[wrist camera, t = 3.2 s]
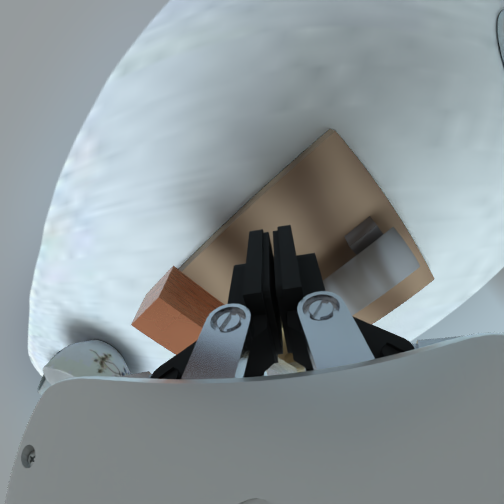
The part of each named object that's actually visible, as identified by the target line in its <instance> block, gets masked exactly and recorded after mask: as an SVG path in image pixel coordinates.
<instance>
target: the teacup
mask: <svg viewBox="0 0 504 504" xmlns="http://www.w3.org/2000/svg"><path fill="white" fill-rule="evenodd" d="M43 373H44V376H45V378H46V379H47V381H48V382H49V383H50V384H51V385H53V384H55V383H57V382H59V381H62V380H66V379H69V378H74V377H82V376H111V377H117V376H124V375H130V374H131V373H130V371H129V369H128V367H127V365H126V363H125V361H124V359H123V357H122V355H121V354H120V353H119V352H118V351H117V350H116V349H115V348H114V347H112V346H111V345H109V344H107V343H105V342H103V341H100V340H90V341H84V342H78V343H75V344H72V345H69V346H67V347H65V348H64V349H62V350H61V351H59V352H58V353H57V354H56V355H55V356H54V357H53V358H52V359H51V360H50V361H49V363H48V364H47V365H45V366H44V368H43Z"/></svg>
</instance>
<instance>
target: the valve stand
mask: <svg viewBox="0 0 504 504" xmlns="http://www.w3.org/2000/svg"><path fill="white" fill-rule="evenodd" d="M286 225H291V230H292V235H293V240H294V245H295V251H296V256H297V255H303V254H310V253H315V255H316V258H317V262H318V265H319V269H320V272H321V276H322V280H323V283H324V287H325V291H328V292H332V293H335V294H337V295H338V296H340V297H341V298H342V299H343V301H344V302H345V304H346V306H347V308H348V309H349V311H350V313H351V315H352V316H353V317H355V318H358V319H360V320H362V321H365V322H367V323H369V324H373V323H375V322H376V321H378V320H379V319H381V318H382V317H384V316H385V315H387V314H388V313H390V312H391V311H393V310H394V309H395V308H397V307H398V306H400V305H401V304H403V303H404V302H405V301H407V300H408V299H409V298H411V297H412V296H413V295H415V294H416V293H417V292H419V291H420V290H421V289H423V288H424V287H425V286H427V285H428V284H429V283H430V282H432V281H433V280H434V277H433V275H432V273H431V271H430V269H429V267H428V265H427V264H426V262H425V260H424V258H423V256H422V254H421V253H420V251H419V249H418V247H417V245H416V244H415V242H414V240H413V239H412V237H411V235H410V234H409V232H408V230H407V229H406V227H405V225H404V224H403V222H402V220H401V219H400V217H399V216H398V214H397V213H396V211H395V210H394V208H393V206H392V205H391V203H390V202H389V200H388V199H387V198H386V196H385V195H384V193H383V192H382V190H381V189H380V187H379V186H378V185H377V183H376V182H375V180H374V179H373V178H372V176H371V175H370V174H369V172H368V171H367V170H366V168H365V167H364V166H363V164H362V163H361V162H360V160H359V159H358V158H357V156H356V155H355V154H354V153H353V151H352V150H351V149H350V148H349V146H348V145H347V144H346V143H345V142H344V140H343V139H342V138H341V137H340V136H339V134H338V133H337V132H336V131H334V130H332V129H329V130H328V131H327V132H326V133H325V134H323V135H322V136H321V137H320V138H319V139H318V140H316V141H315V142H314V143H313V144H312V145H311V146H309V147H308V148H307V149H306V150H305V151H304V152H303V153H301V154H300V155H299V156H298V157H297V158H296V159H295V160H293V161H292V162H291V163H290V164H289V165H288V166H287V167H286V168H284V169H283V170H282V171H281V172H280V173H279V174H278V175H277V176H276V177H274V178H273V179H272V180H271V181H270V182H269V183H268V184H267V185H266V186H265V187H263V188H262V189H261V190H260V191H259V192H258V193H257V194H256V195H255V196H254V197H253V198H252V199H250V200H249V201H248V202H247V203H246V204H245V205H244V206H243V207H242V208H241V209H240V210H239V211H238V212H237V213H235V214H234V215H233V216H232V217H231V218H230V219H229V220H228V221H227V222H226V223H225V224H224V225H223V226H222V227H221V228H220V229H219V230H218V231H217V232H216V233H214V234H213V235H212V236H211V237H210V238H209V239H208V240H207V241H206V242H205V243H204V244H203V245H202V246H201V247H200V248H199V249H198V250H197V251H196V252H195V253H194V254H193V255H192V256H191V257H190V258H189V259H188V260H187V261H186V262H185V263H184V264H183V265H182V266H181V267H180V268H179V269H178V270H180V271H181V272H182V273H183V274H185V275H186V276H187V277H189V278H190V279H191V280H192V281H194V282H195V283H196V284H198V285H199V286H200V287H202V288H203V289H204V290H206V291H207V292H208V293H210V294H211V295H212V296H214V297H215V298H216V299H218V300H219V301H220V302H222V303H223V304H224V305H226V304H227V303H228V297H229V291H230V285H231V279H232V273H233V268H234V265H238V264H245V263H246V257H247V248H248V239H249V231H255V230H261V229H263V231H264V232H269V236H270V241H271V246H272V251H273V256H274V247H273V231H277V230H278V229H277V227H279V226H286ZM282 337H283V354H279V355H278V357H279V358H280V359H282V360H283V361H285V362H287V363H293V362H295V361H294V360H293V354H292V353H288V352H287V347H286V342H285V337H284V331H283V326H282Z"/></svg>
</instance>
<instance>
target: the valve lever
mask: <svg viewBox="0 0 504 504" xmlns="http://www.w3.org/2000/svg"><path fill="white" fill-rule="evenodd" d="M223 305H224V304H223V303H222V302H220V301H219V300H218V299H216V298H215V297H214V296H212V295H211V294H210V293H208V292H207V291H206V290H204V289H203V288H202V287H200V286H199V285H198V284H196V283H195V282H194V281H192V280H191V279H190V278H189V277H187V276H186V275H185V274H183V273H182V272H181V271H180V270H178V269H177V268H176V267H175V266H173V267H172V268H171V269H170V270H169V271H168V272H167V273H166V274H165V275H164V276H163V277H162V278H161V279H160V280H159V281H158V283H157V284H156V285H155V286H154V287H153V288H152V289H151V290H150V291H149V292H148V293H147V294H146V296H145V298H144V300H143V302H142V304H141V306H140V308H139V310H138V312H137V314H136V316H135V318H134V320H133V322H132V324H131V325H132V326H133V327H135V328H136V329H138V330H139V331H141V332H142V333H144V334H145V335H147V336H148V337H150V338H151V339H153V340H154V341H156V342H157V343H159V344H160V345H162V346H163V347H165V348H166V349H168V350H170V351H171V352H173V353H174V354H176V355H177V354H178V353H180V352H181V351H183V350H184V349H186V348H187V347H188V346H190V345H191V344H193V343H194V342H195V341H197V340H198V338H199V335H200V333H201V330H202V328H203V326H204V323H205V321H206V319H207V317H208V316H209V314H210V313H211V312H212V311H213V310H215V309H216V308H218V307H220V306H223ZM267 370H268V376H270V375H280V374H289V373H297V372H305V367H303V366H302V365H300V364H299V363H297V362H293V363H287V362H285V361H283V360H282V359H280V358H279V357H278V363H274V364H273V365H272V366H271V367H270V368H269V369H267Z"/></svg>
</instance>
